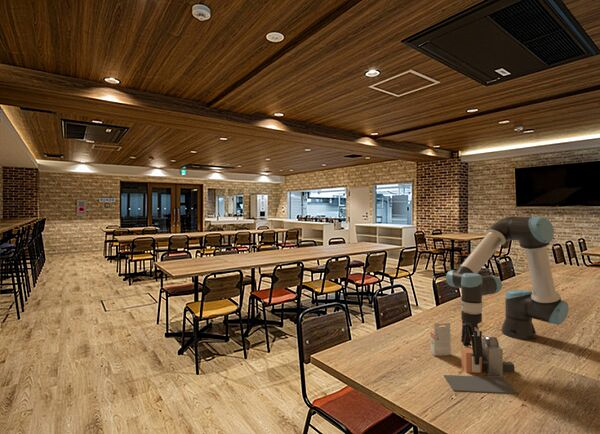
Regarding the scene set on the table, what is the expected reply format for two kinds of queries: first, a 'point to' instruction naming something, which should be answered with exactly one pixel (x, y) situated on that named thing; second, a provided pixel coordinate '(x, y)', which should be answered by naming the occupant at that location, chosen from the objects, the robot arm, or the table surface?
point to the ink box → (441, 340)
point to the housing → (492, 356)
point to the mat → (480, 384)
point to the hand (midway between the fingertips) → (471, 366)
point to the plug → (467, 362)
